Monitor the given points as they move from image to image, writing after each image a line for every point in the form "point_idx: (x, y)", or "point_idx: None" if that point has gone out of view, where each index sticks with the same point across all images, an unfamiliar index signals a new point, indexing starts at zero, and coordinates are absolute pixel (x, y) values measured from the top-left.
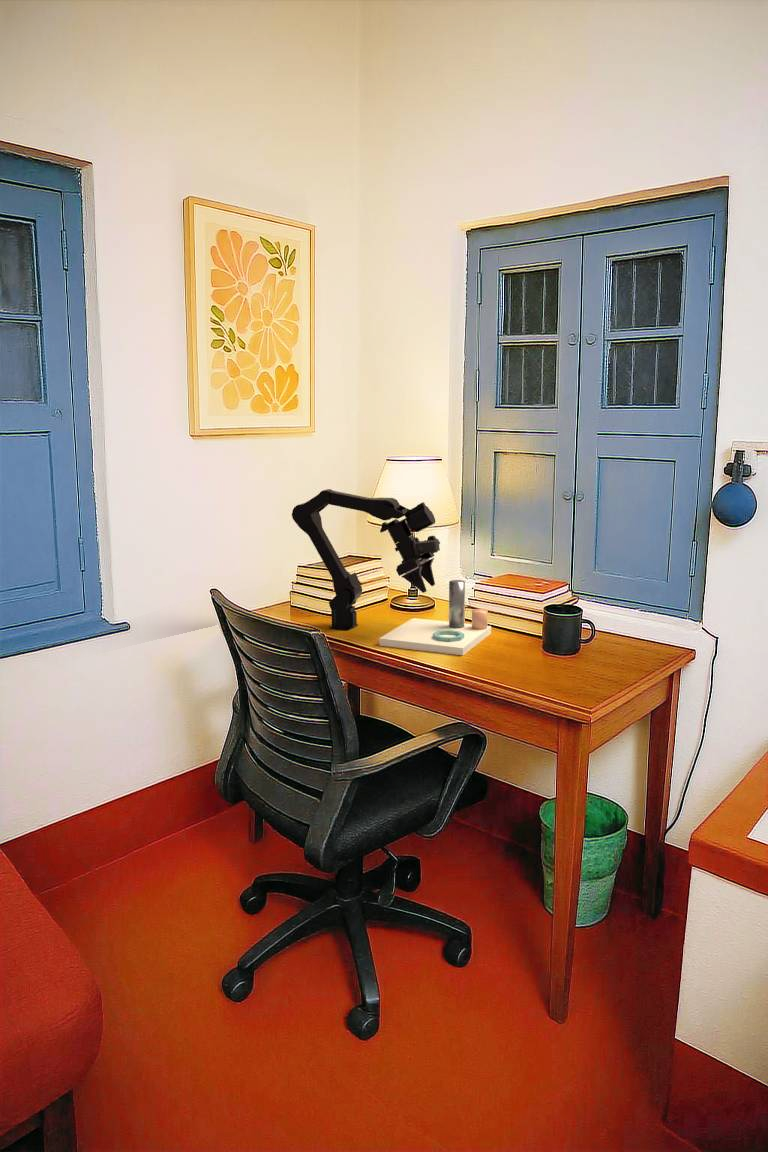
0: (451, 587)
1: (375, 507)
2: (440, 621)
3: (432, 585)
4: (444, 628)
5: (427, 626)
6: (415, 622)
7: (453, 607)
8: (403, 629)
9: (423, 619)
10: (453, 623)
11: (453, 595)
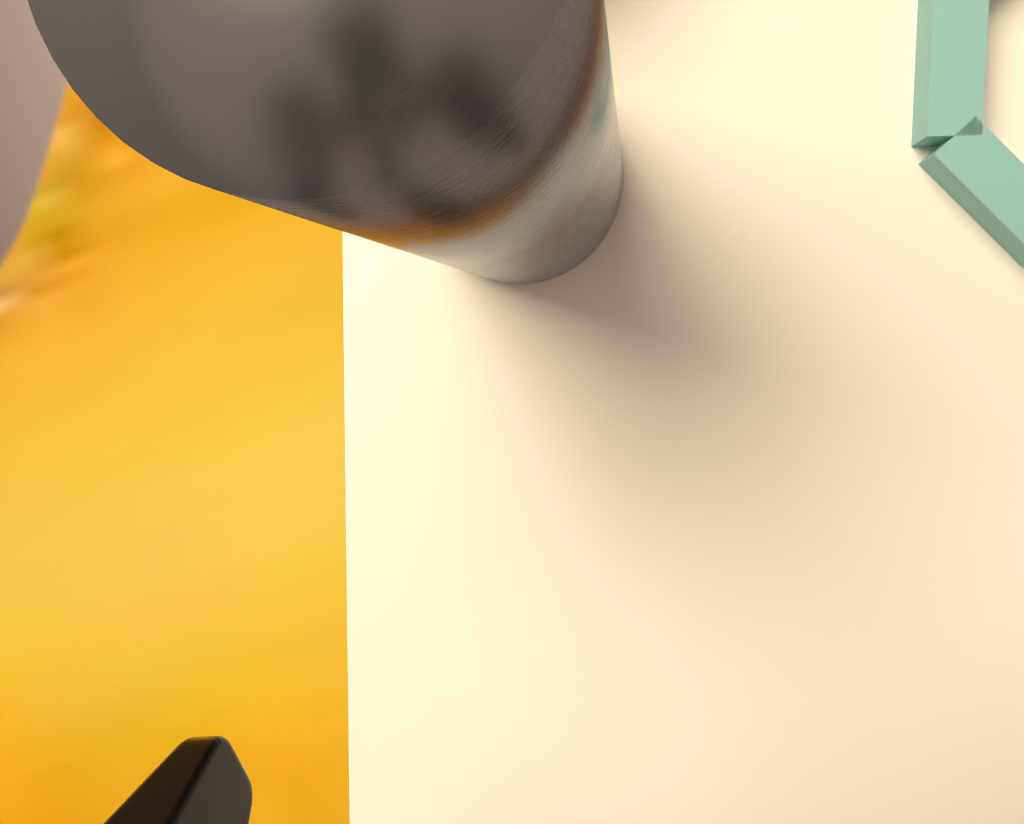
0: (573, 65)
1: None
2: (371, 460)
3: (245, 780)
4: (682, 290)
5: (668, 531)
6: (541, 735)
7: (613, 126)
8: (934, 768)
9: (364, 689)
10: (621, 176)
11: (606, 58)
